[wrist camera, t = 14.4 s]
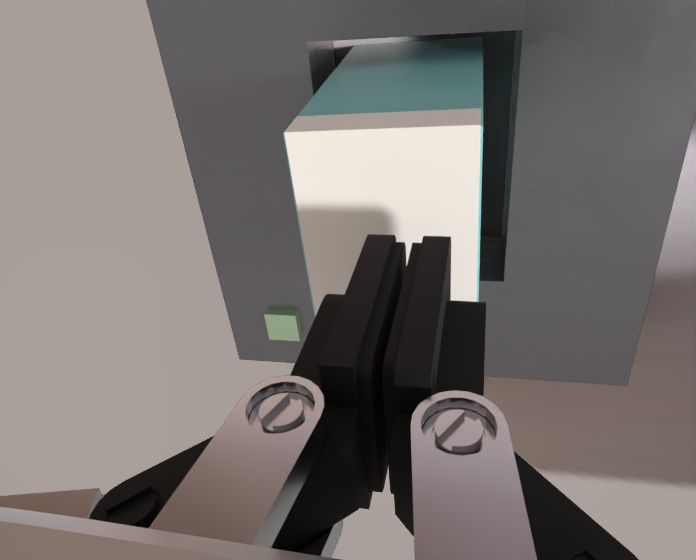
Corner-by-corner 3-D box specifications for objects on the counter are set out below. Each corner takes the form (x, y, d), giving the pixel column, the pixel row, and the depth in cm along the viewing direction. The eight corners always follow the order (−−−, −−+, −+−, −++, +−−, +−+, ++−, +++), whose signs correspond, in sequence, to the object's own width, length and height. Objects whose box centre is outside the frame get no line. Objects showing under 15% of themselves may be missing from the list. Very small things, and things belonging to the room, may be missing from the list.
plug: (483, 34, 17) (483, 124, 11) (478, 214, 21) (477, 365, 14) (353, 44, 18) (281, 132, 12) (369, 214, 21) (321, 357, 15)
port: (724, -199, 13) (785, -220, 11) (611, 331, 22) (628, 391, 19) (167, -128, 16) (105, -131, 14) (263, 313, 25) (237, 364, 22)
